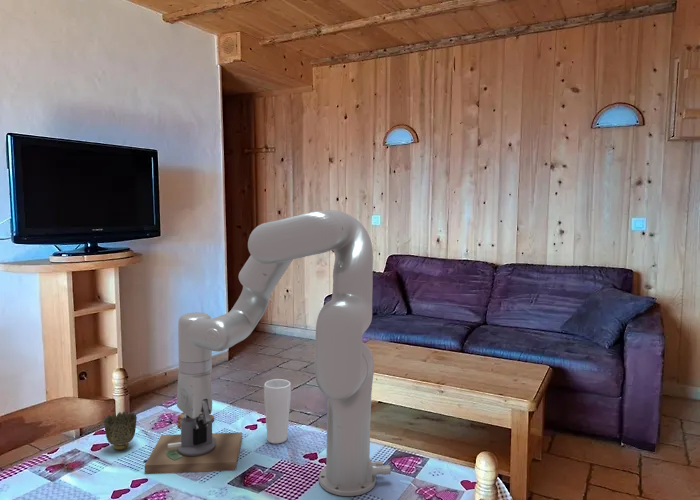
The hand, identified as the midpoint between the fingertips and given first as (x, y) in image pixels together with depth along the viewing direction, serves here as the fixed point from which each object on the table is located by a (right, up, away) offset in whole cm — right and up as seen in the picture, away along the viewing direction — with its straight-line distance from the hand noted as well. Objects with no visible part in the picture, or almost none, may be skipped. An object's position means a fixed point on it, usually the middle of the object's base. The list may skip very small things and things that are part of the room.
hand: (195, 439), depth 122 cm
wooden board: (0, -4, 0) cm, 4 cm away
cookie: (-6, -3, +19) cm, 20 cm away
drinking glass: (+18, -4, +10) cm, 21 cm away
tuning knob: (-1, -2, 0) cm, 2 cm away
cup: (-19, -4, +3) cm, 20 cm away
